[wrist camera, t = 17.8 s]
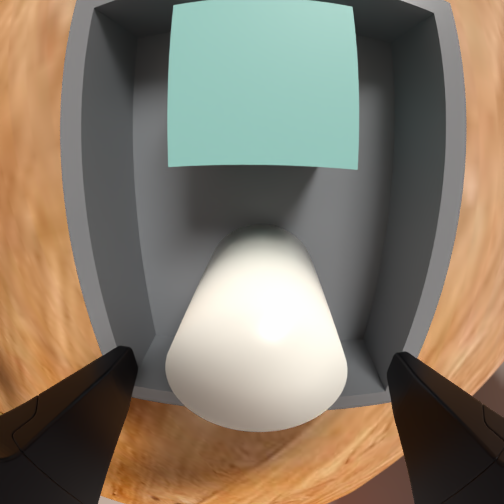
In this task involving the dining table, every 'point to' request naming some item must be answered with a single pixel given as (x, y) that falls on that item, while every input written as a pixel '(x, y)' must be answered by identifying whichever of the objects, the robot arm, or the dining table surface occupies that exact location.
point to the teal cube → (263, 84)
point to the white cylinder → (258, 337)
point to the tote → (264, 189)
